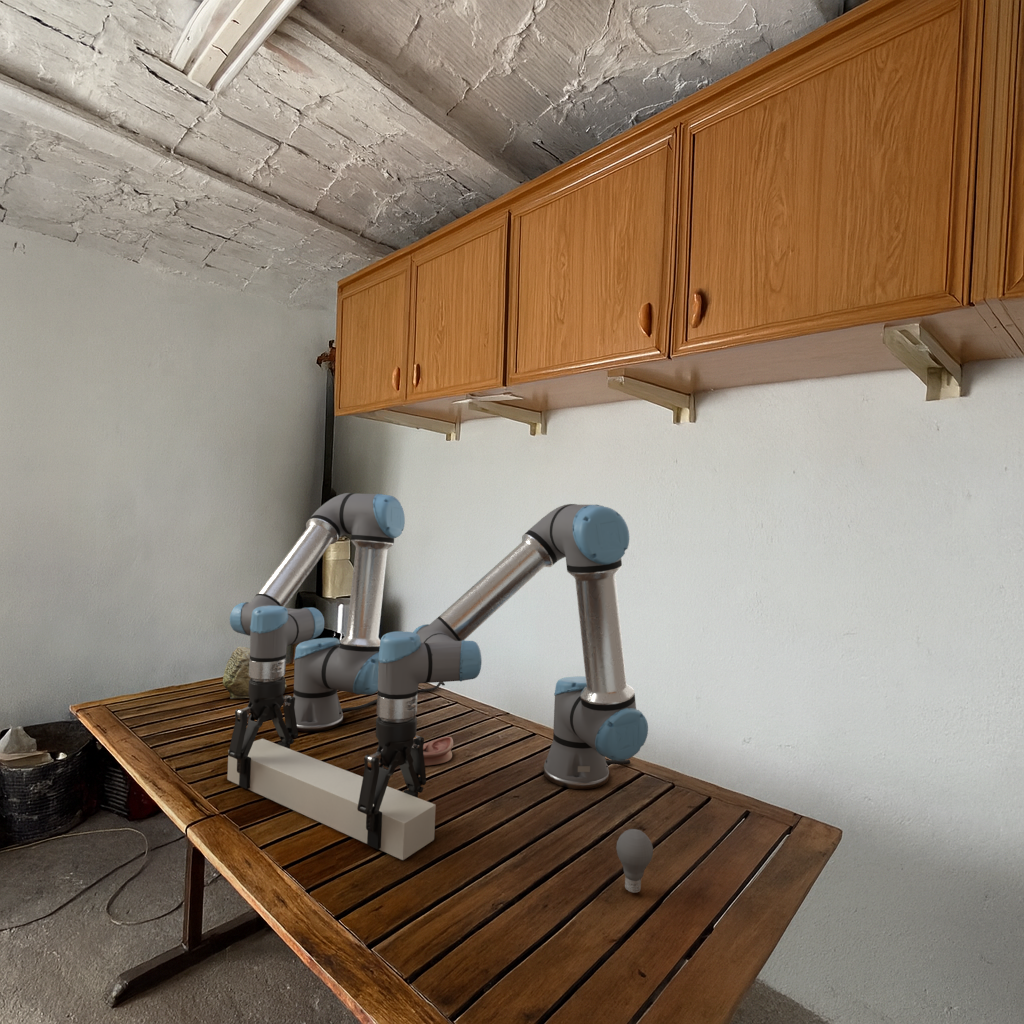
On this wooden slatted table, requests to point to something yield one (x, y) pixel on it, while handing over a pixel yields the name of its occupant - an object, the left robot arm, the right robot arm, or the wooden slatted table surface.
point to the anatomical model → (438, 751)
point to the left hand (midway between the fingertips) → (263, 779)
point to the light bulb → (634, 857)
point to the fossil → (238, 673)
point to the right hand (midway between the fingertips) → (391, 835)
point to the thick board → (336, 797)
